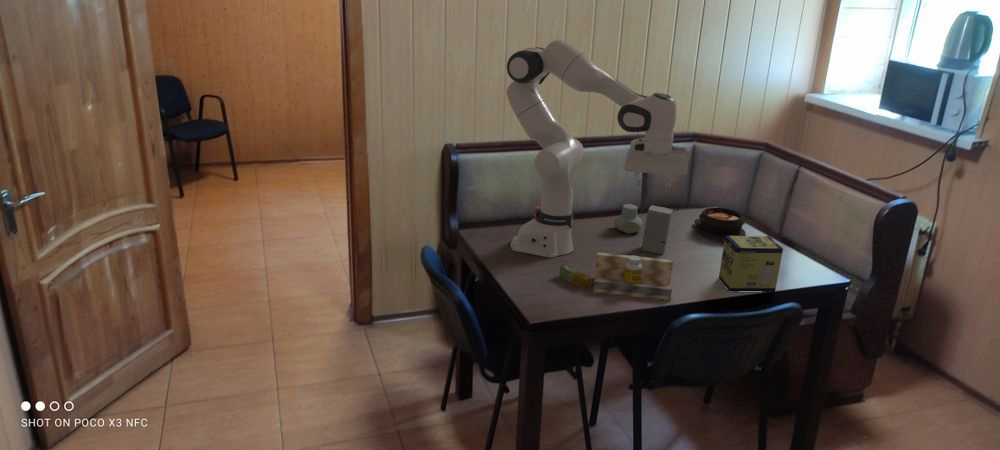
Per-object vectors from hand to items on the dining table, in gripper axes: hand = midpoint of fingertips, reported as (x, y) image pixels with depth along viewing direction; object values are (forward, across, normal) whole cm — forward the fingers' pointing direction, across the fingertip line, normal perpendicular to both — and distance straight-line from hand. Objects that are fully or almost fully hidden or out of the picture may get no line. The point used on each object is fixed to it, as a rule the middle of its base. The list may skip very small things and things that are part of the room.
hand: (653, 186), depth 237 cm
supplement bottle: (+28, +4, +18) cm, 34 cm away
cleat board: (+29, +4, +19) cm, 35 cm away
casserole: (+29, -29, -40) cm, 57 cm away
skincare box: (+29, -4, -16) cm, 34 cm away
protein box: (+29, -33, +6) cm, 45 cm away
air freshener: (+29, +6, -33) cm, 45 cm away
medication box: (+30, +22, +18) cm, 41 cm away
